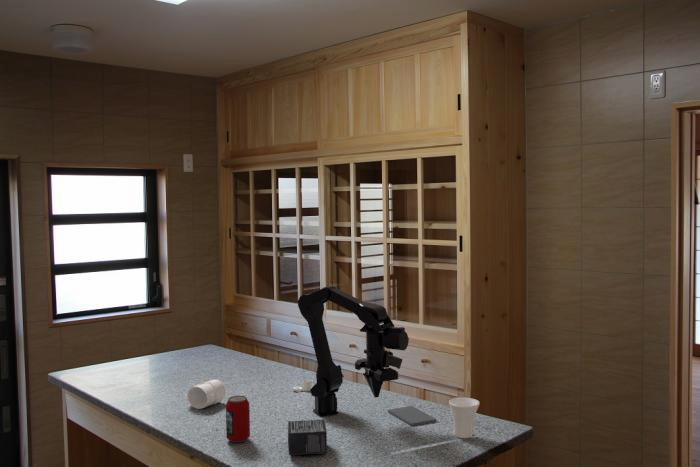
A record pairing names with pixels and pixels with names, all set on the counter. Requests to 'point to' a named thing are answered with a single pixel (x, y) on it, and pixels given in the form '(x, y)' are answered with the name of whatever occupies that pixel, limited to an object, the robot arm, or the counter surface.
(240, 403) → the beverage can
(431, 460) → the counter surface
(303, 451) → the small box
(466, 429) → the cup
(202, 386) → the white cylinder
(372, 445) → the counter surface
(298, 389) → the teacup and saucer
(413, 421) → the mat
